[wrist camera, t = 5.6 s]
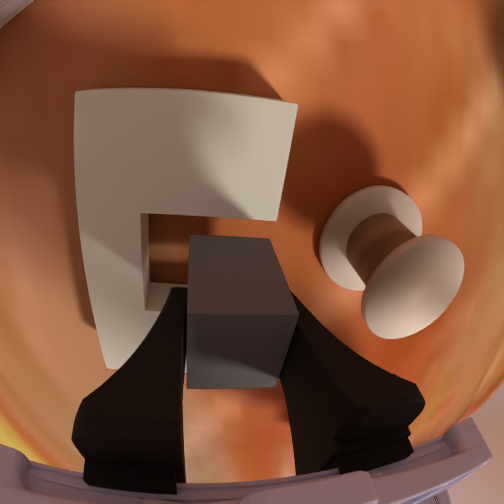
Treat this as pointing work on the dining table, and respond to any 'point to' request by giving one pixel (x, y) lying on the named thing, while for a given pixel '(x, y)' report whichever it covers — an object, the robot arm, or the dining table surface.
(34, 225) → the dining table surface
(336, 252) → the bobbin post
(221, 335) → the block
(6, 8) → the small box
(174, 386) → the robot arm
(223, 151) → the notch board
